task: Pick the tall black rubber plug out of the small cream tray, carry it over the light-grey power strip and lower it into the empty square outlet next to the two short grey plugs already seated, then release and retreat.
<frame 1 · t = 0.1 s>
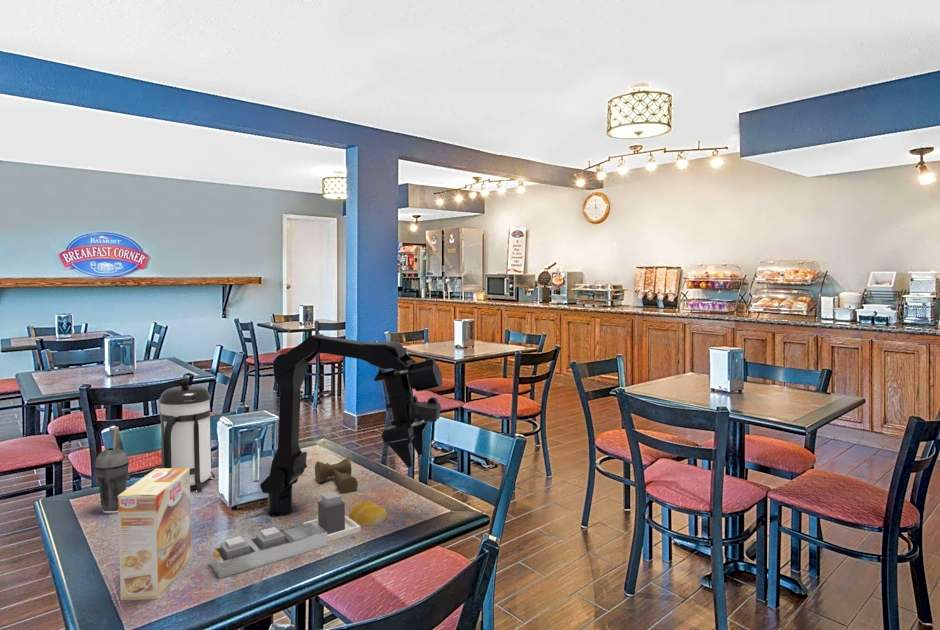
hand: (415, 460, 134), 15 cm above the table, tool pointing down, fingers open, 9 cm apart
coffeecake box: (158, 581, 110), on the table
tray: (331, 532, 131), on the table
twin plug b: (235, 564, 115), resting on power strip
plug: (331, 529, 131), point 1 cm above the table, touching tray
beverage cup: (113, 511, 142), on the table
power strip: (270, 556, 119), on the table
twin plug a: (270, 554, 119), resting on power strip
bread roll: (368, 521, 138), on the table
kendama: (337, 484, 162), on the table
coffee press: (187, 487, 158), on the table
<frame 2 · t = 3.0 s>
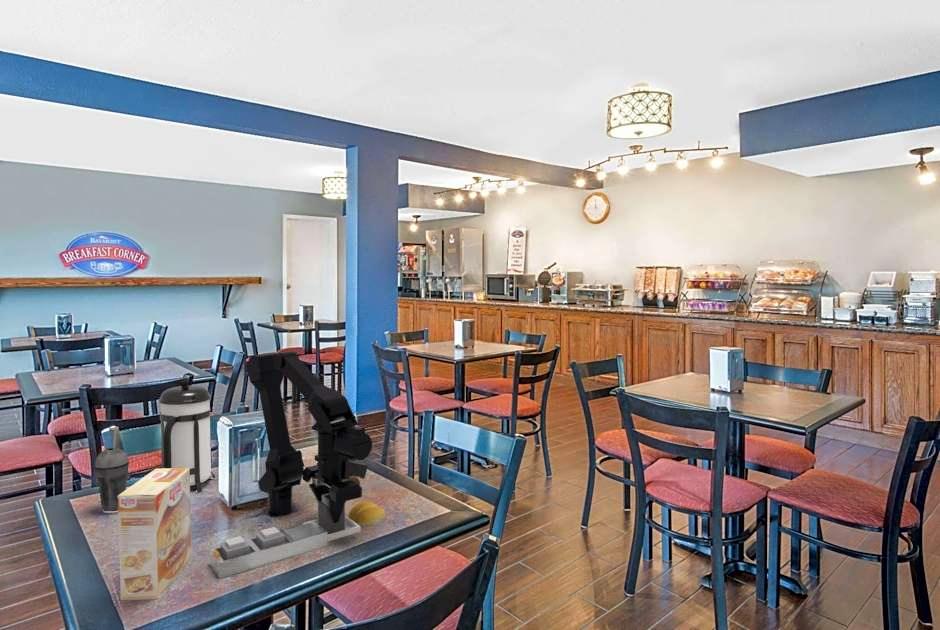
hand: (331, 518, 131), 3 cm above the table, tool pointing down, fingers closed on plug, 4 cm apart
plug: (331, 529, 131), point 1 cm above the table, touching gripper, tray
everything else where it was.
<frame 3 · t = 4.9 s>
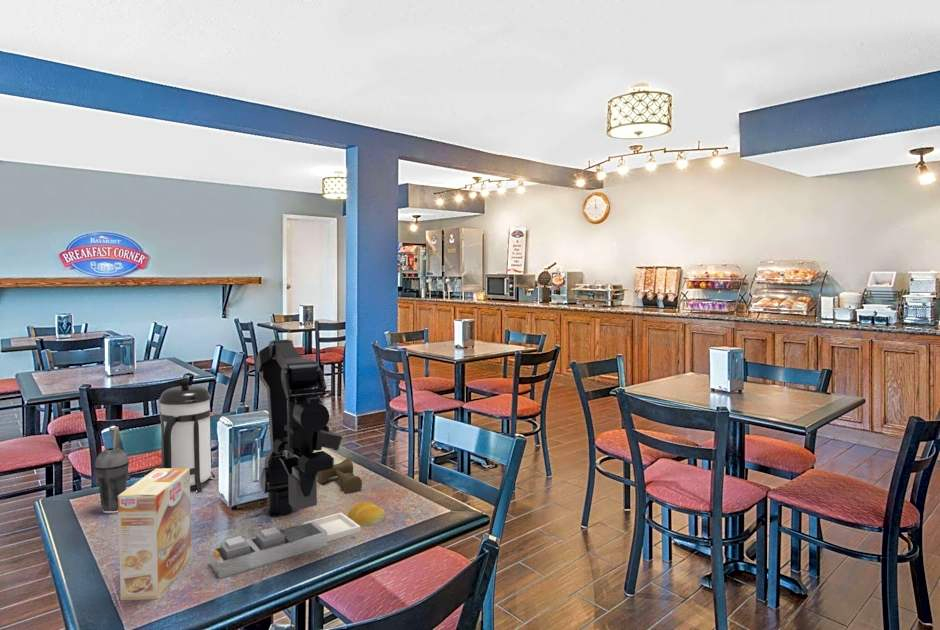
hand: (302, 492, 123), 12 cm above the table, tool pointing down, fingers closed on plug, 4 cm apart
plug: (302, 504, 123), point 9 cm above the table, touching gripper
everything else where it was.
when the fingers open (4 cm above the table, at t = 6.8 s): plug drops 1 cm, resting on power strip.
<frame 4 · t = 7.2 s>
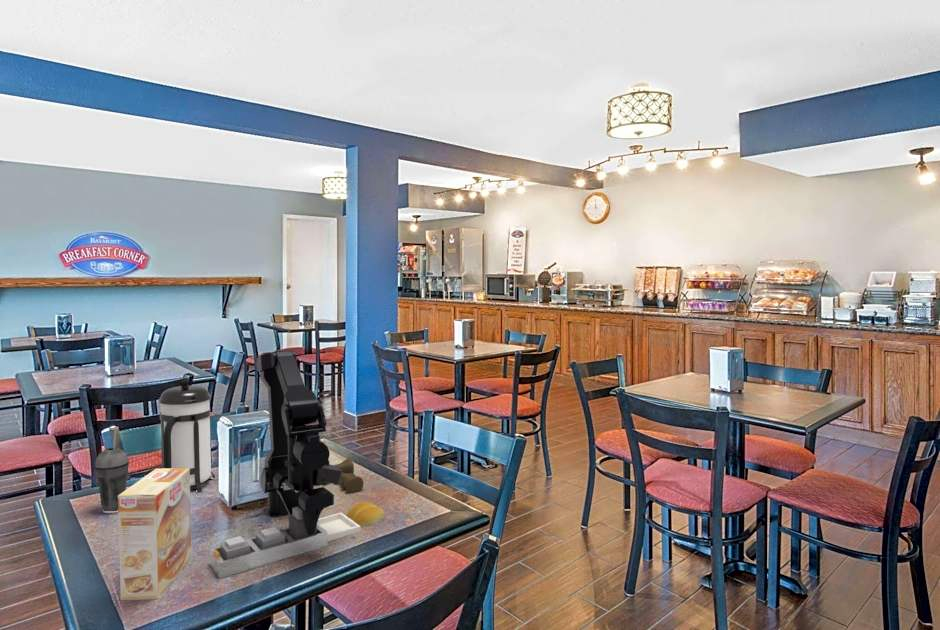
hand: (302, 527, 123), 4 cm above the table, tool pointing down, fingers open, 8 cm apart
plug: (303, 544, 124), resting on power strip
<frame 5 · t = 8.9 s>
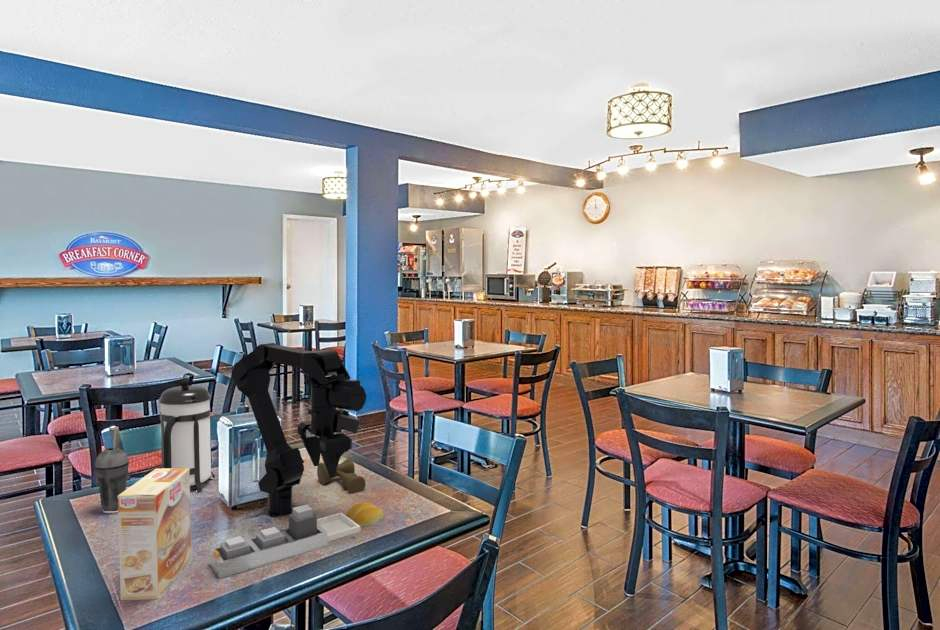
hand: (323, 471, 134), 13 cm above the table, tool pointing down, fingers open, 9 cm apart
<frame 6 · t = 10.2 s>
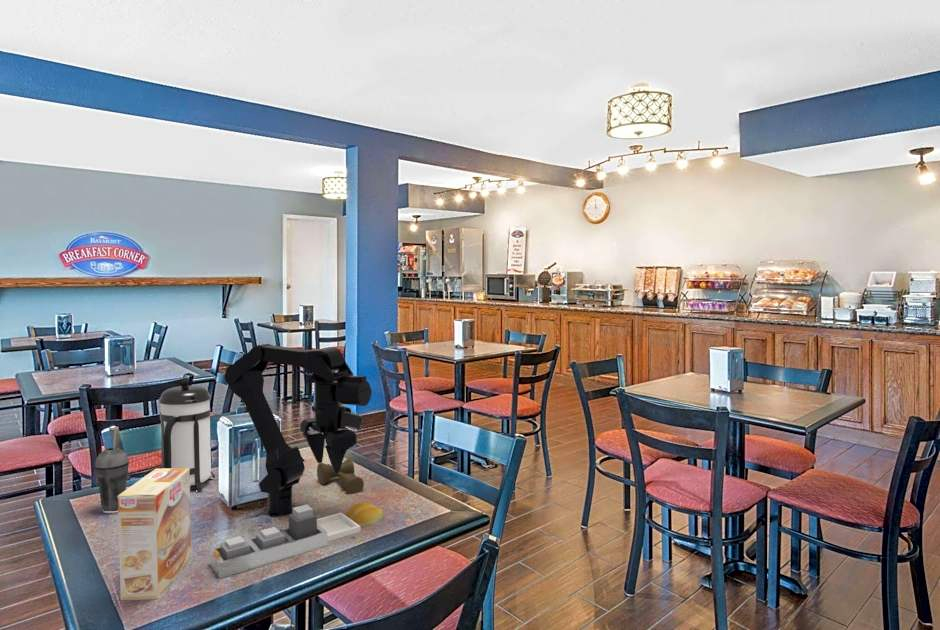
hand: (328, 467, 136), 13 cm above the table, tool pointing down, fingers open, 9 cm apart
at the end: plug 0.1 cm from the target spot on the power strip, point 0.5 cm above the power strip's base; plug tilted 0°; the gripper is holding nothing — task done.
